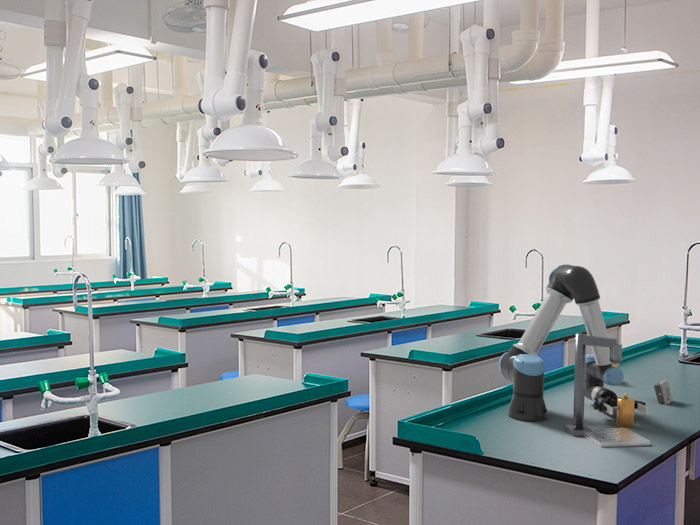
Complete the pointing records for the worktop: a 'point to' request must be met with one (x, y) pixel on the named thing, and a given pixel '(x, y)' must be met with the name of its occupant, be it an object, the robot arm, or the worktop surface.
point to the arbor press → (598, 435)
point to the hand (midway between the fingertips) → (629, 411)
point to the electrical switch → (663, 392)
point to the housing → (625, 411)
